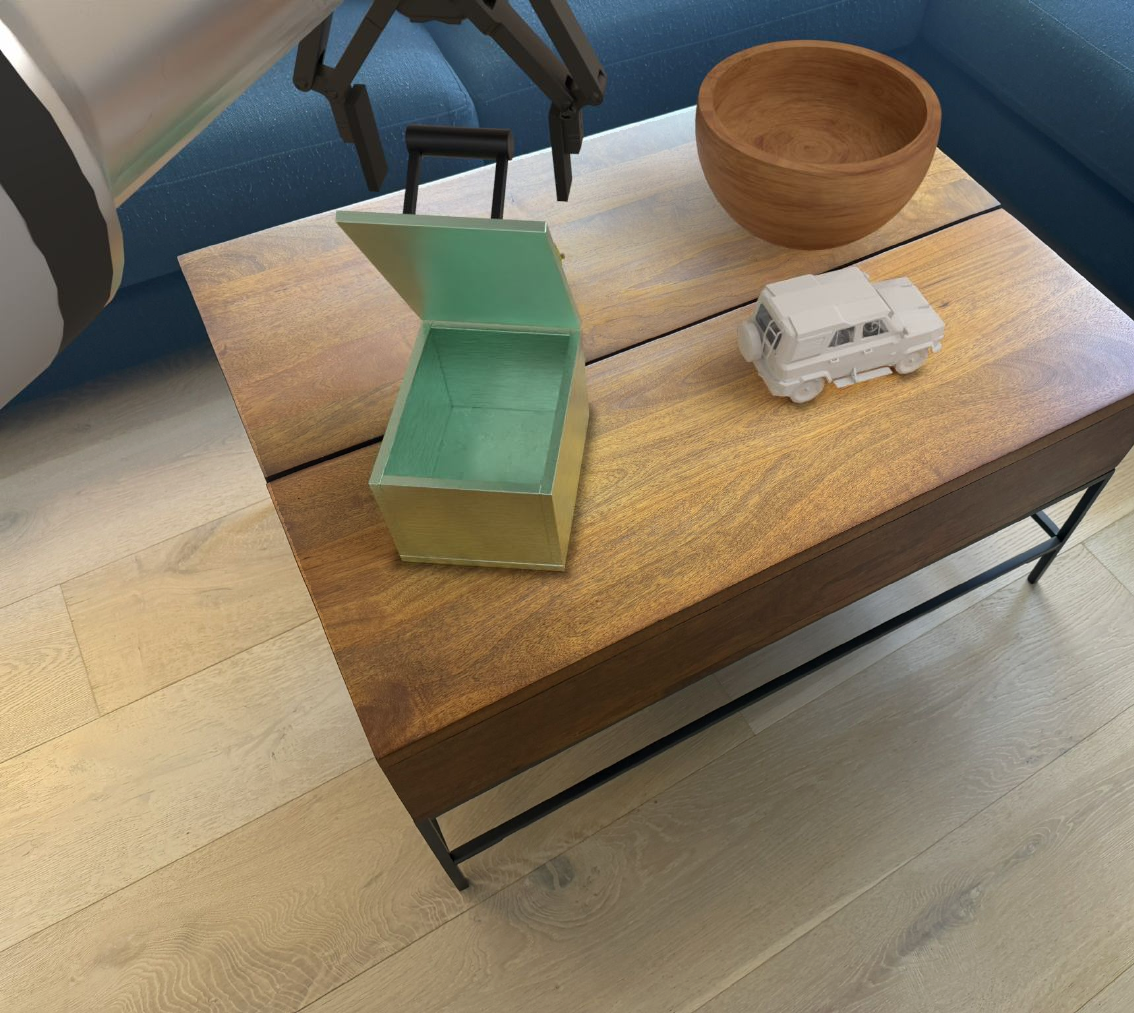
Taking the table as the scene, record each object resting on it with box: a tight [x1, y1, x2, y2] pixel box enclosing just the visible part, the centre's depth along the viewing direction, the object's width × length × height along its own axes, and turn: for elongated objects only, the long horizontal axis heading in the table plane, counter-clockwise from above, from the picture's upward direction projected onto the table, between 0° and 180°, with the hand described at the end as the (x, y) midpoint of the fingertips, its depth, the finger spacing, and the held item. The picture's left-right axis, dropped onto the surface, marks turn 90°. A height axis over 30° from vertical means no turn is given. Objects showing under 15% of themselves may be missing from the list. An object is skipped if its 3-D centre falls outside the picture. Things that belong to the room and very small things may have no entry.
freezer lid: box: [334, 123, 582, 329], centre depth 68 cm, size 19×14×8 cm
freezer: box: [368, 320, 590, 572], centre depth 76 cm, size 18×14×11 cm
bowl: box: [694, 39, 942, 251], centre depth 97 cm, size 25×25×15 cm
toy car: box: [736, 265, 946, 404], centre depth 86 cm, size 10×20×10 cm, turn 111°
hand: (471, 185), depth 65 cm, fingers open, 13 cm apart
